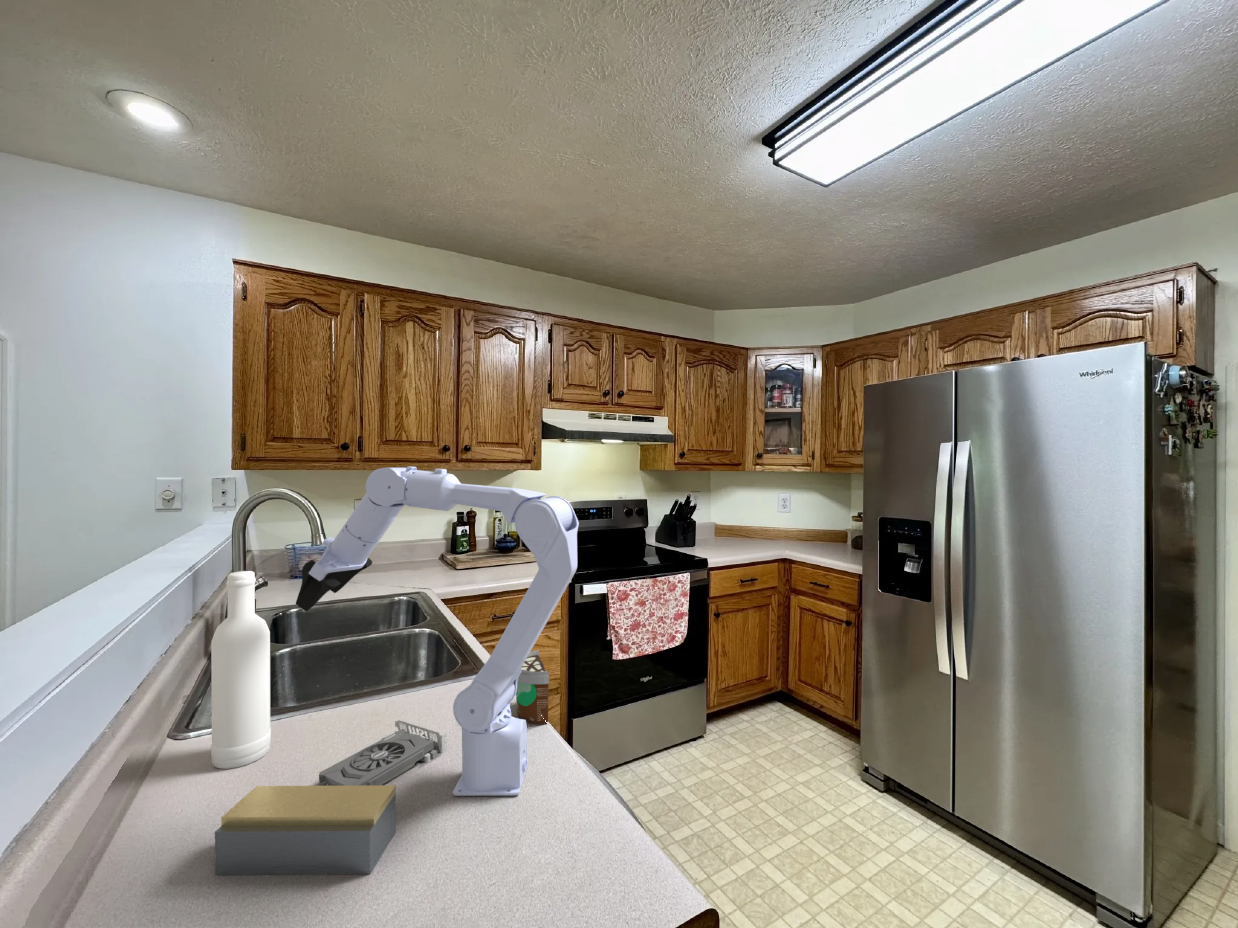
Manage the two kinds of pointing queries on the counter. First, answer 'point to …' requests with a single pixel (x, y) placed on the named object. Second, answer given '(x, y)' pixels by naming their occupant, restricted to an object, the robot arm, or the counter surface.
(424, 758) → the graphics card
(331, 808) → the grey flat box
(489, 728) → the robot arm
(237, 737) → the bottle
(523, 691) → the food container
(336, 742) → the counter surface
